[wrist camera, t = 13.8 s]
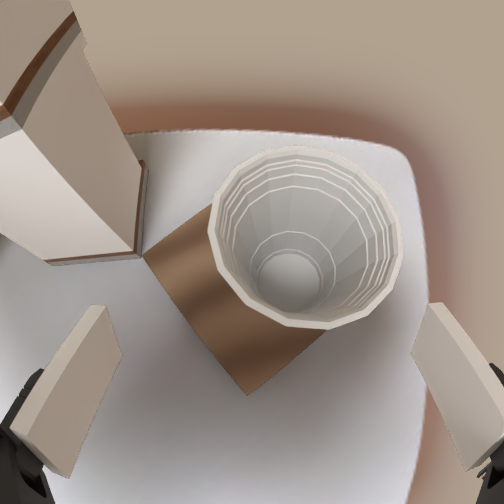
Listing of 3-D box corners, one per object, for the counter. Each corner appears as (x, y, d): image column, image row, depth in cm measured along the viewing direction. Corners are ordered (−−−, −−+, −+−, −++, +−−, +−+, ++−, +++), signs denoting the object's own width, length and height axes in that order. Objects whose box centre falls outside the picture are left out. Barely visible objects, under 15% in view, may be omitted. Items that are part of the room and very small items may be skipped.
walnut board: (145, 258, 29) (141, 255, 28) (270, 168, 32) (270, 163, 31) (247, 394, 24) (247, 395, 23) (378, 279, 27) (381, 276, 26)
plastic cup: (359, 335, 25) (429, 310, 13) (234, 350, 24) (213, 341, 13) (339, 222, 28) (378, 140, 17) (225, 231, 28) (205, 148, 17)
